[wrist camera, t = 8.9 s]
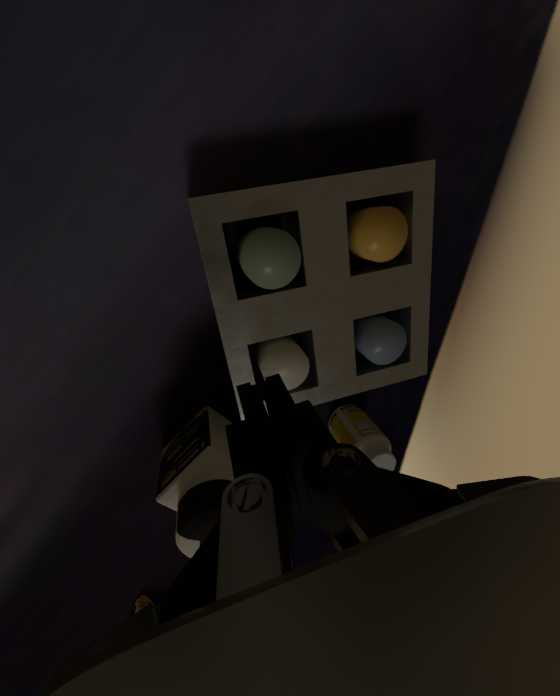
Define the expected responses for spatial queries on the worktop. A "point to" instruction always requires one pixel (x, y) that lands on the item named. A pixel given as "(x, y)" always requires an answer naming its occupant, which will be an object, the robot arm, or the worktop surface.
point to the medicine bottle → (196, 477)
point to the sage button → (268, 257)
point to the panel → (325, 278)
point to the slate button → (379, 338)
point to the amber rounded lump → (376, 233)
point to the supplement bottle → (361, 435)
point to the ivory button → (283, 360)
